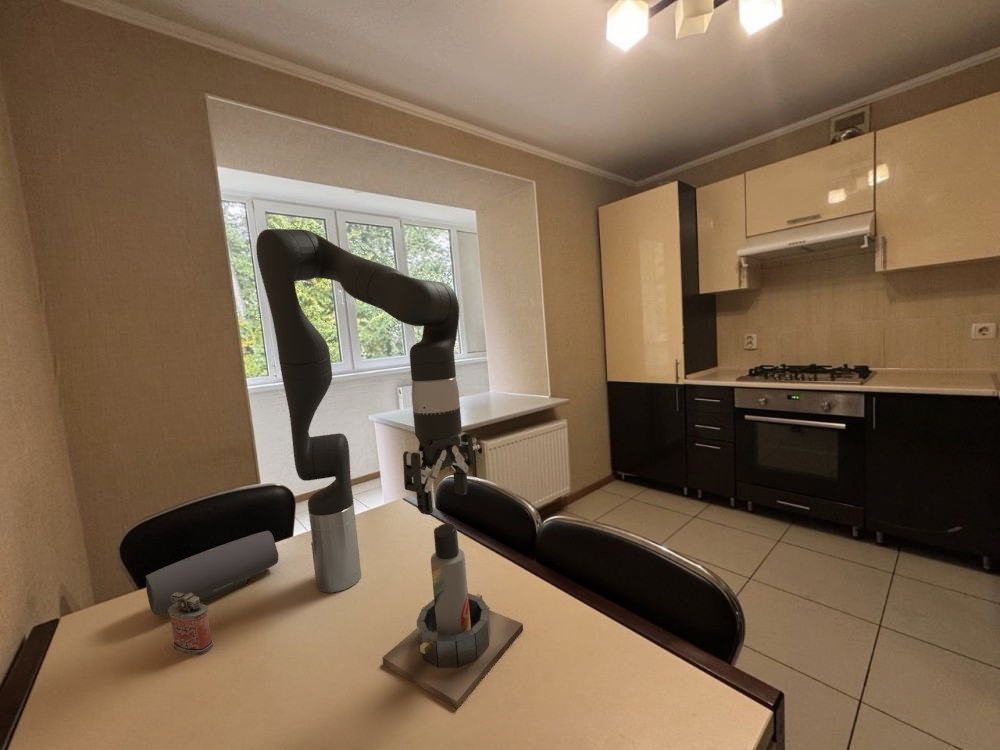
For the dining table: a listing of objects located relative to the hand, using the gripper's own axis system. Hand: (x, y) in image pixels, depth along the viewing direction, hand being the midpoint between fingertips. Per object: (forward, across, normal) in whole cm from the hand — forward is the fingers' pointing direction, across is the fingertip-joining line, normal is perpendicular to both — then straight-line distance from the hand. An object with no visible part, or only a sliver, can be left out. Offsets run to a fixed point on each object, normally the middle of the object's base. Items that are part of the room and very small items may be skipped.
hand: (444, 503), depth 68 cm
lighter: (+26, -24, +42) cm, 55 cm away
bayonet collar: (+24, 0, 0) cm, 24 cm away
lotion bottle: (+24, 0, 0) cm, 24 cm away
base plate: (+25, 0, 0) cm, 25 cm away
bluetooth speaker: (+26, -14, +57) cm, 64 cm away
